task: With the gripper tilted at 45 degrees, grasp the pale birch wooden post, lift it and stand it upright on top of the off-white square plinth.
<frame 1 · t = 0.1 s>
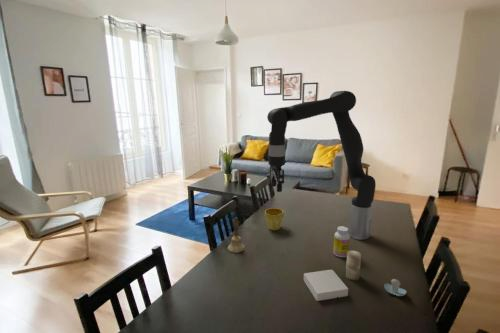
hand: (276, 188, 129), 29 cm above the table, tool pointing down, fingers open, 8 cm apart
pacifier: (394, 292, 103), on the table
plant pot: (274, 228, 155), on the table
supplement bottle: (340, 254, 128), on the table
hand bell: (236, 248, 134), on the table
plinth: (324, 287, 106), on the table
birch post: (352, 276, 112), on the table
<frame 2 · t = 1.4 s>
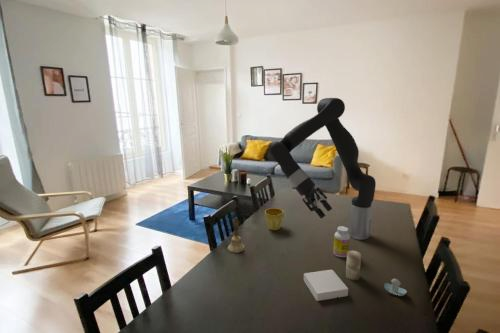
hand: (327, 213, 113), 24 cm above the table, tool tilted 45°, fingers open, 8 cm apart
nothing on the table moved.
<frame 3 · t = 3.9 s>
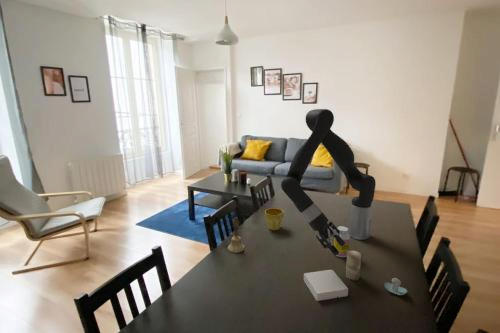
hand: (340, 249, 113), 10 cm above the table, tool tilted 45°, fingers open, 8 cm apart
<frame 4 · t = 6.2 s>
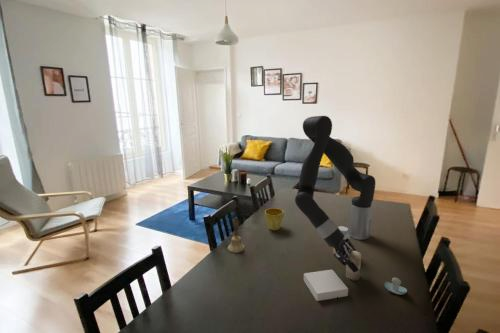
hand: (358, 267, 110), 5 cm above the table, tool tilted 45°, fingers closed on birch post, 5 cm apart
birch post: (352, 276, 112), on the table, touching gripper
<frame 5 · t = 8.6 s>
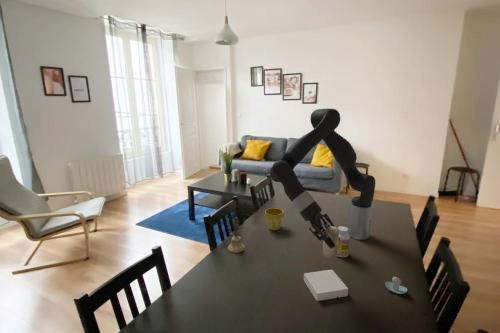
hand: (335, 243, 101), 18 cm above the table, tool tilted 45°, fingers closed on birch post, 5 cm apart
birch post: (329, 253, 103), point 14 cm above the table, touching gripper
when the fingers open (9 cm above the table, at t = 10.9 s): birch post drops 1 cm, resting on plinth.
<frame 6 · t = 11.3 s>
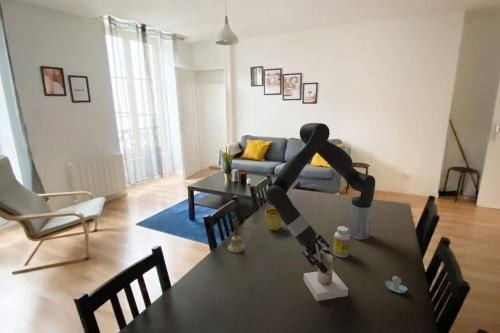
hand: (329, 266, 103), 10 cm above the table, tool tilted 45°, fingers open, 8 cm apart
birch post: (324, 280, 105), point 3 cm above the table, touching plinth
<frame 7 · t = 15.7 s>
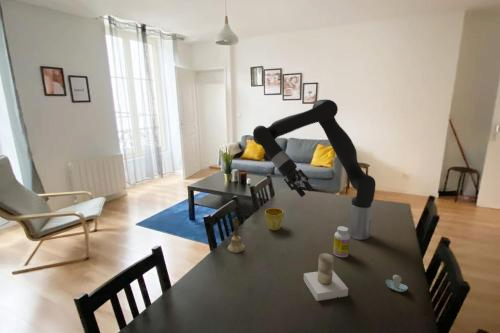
hand: (307, 192, 119), 31 cm above the table, tool tilted 45°, fingers open, 8 cm apart
at the end: birch post 0.2 cm off-centre on the plinth, point 3.0 cm above the plinth's base; birch post tilted 1°; the gripper is holding nothing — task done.
